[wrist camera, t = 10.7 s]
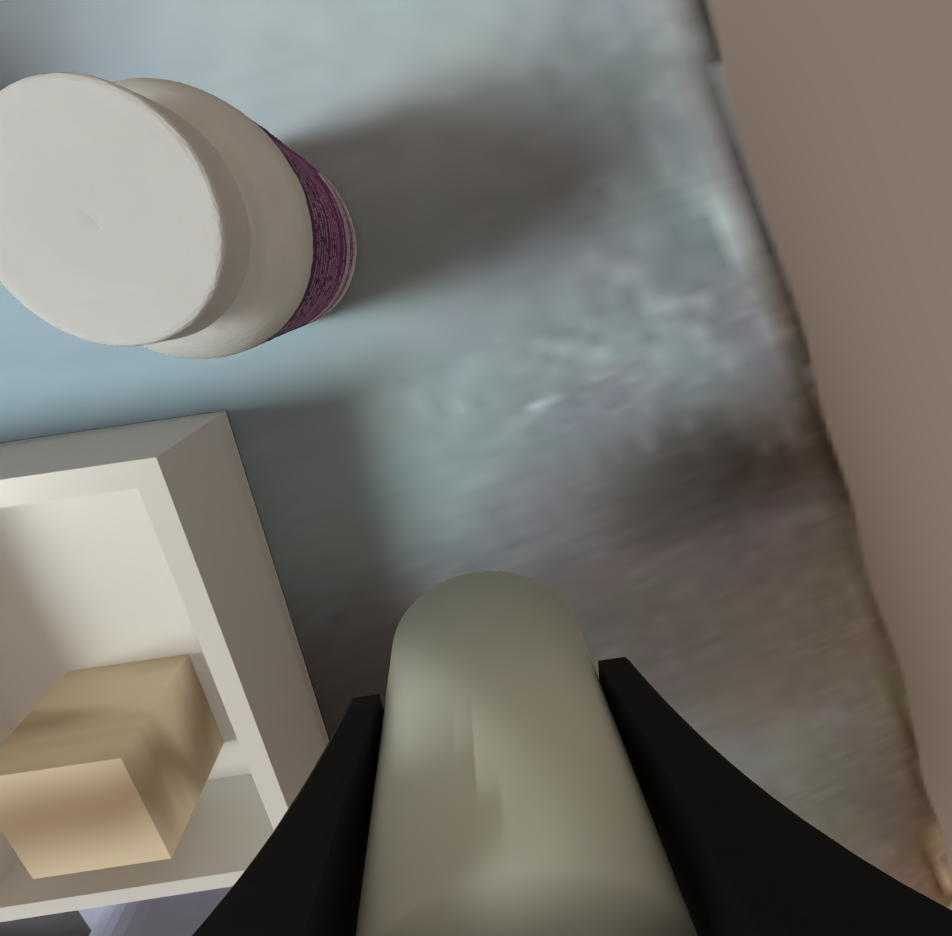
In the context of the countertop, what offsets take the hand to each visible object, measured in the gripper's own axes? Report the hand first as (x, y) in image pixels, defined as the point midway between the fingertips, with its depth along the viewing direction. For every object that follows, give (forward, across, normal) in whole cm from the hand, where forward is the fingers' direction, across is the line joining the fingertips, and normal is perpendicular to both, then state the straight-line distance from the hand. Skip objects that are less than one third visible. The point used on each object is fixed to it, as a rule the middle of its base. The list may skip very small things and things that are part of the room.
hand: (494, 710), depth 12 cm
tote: (+10, +15, +3) cm, 18 cm away
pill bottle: (+10, +5, -11) cm, 16 cm away
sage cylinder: (+2, 0, 0) cm, 2 cm away
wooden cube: (+9, +15, +6) cm, 19 cm away
